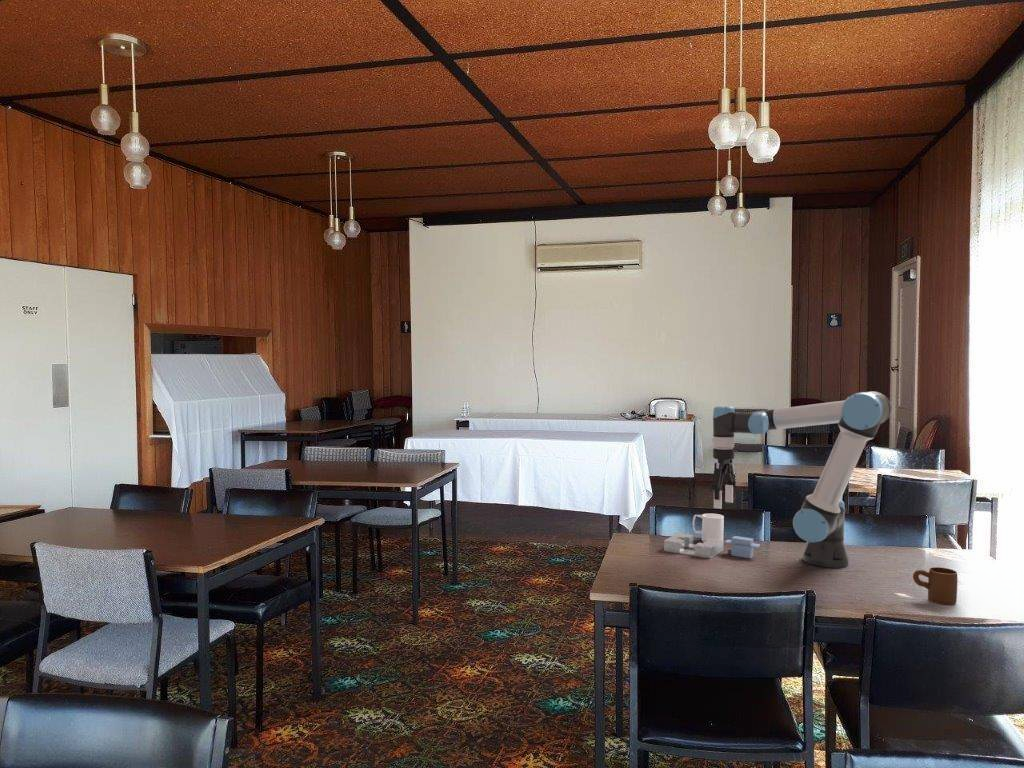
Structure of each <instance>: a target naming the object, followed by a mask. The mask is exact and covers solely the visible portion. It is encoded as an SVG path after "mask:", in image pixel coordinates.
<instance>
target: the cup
mask: <svg viewBox="0 0 1024 768" xmlns="http://www.w3.org/2000/svg"><path fill="white" fill-rule="evenodd" d="M696 517H697V518H701V519H702V520H701V521H702V522H701V530H696V526H695V525H696V524H695V521H696ZM724 520H725V516H724V515H722V514H718V513H703V514H695V515H693V518H692V531H693V532H694V534H696V535H701V541H702V542H703V541H704V539H706V538H707V537H708V538H715V539H721V540H724V529H725V527H724V524H725V523H724V522H725V521H724Z"/></svg>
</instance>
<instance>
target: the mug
mask: <svg viewBox="0 0 1024 768" xmlns="http://www.w3.org/2000/svg"><path fill="white" fill-rule="evenodd" d="M920 575H921V576H923V577H926V578H928V580H927V581H926V580H922V579H920V577H919V576H920ZM912 578H913V582H914V583H915V584H916V585H918V586H920V587H923V588H926V590H927V599H928V600H929V601H931V602H932V603H934V604H939V605H943V606H944V605H945V606H947V605H948V606H949V605H950V606H952V605H953V606H954V605H955V604H956V603H957V599H958V581H959V580H958V579H959V577H958V572H957V571H956V570H954V569H951V568H946V567H940V566H939V567H938V566H937V567H935V566H934V567H930V568H929V569H928V571H926V570H924V569H916V570H915V571H914V572H913V574H912Z"/></svg>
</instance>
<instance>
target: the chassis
mask: <svg viewBox="0 0 1024 768" xmlns="http://www.w3.org/2000/svg"><path fill="white" fill-rule="evenodd" d="M724 544H725V539H723V540H721V539H715V538H708V537H707V538H706V539H704V541H702V542H698V543H696V544H695V543H694V534H687V533H680V532H677V533H675V534H673V535H672V536H670V537H668V538H666V539H664V541H663V552H669V553H675V554H680V555H687V556H693V557H698V558H699V557H700V558H703V559H704V558H705V559H710V560H711V559H713V558H715V556H717V555H718V554H720V553H722V552H723V551H724V546H725V545H724ZM685 548H687V549H685ZM689 549H693V550H689Z"/></svg>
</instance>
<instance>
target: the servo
mask: <svg viewBox="0 0 1024 768" xmlns="http://www.w3.org/2000/svg"><path fill="white" fill-rule="evenodd" d="M754 540H755V539H754V537H753V538H751V537H745V536H739V535H734V536H732V537H731V539H726V540H724V544H728V545H731V546H730V547H731V548H728V549H727V553H728V554H731V556H734V557H739V558H744V559H751V558H753V557H754V549H759V548H760V547H761V544H760V543H755V542H754Z"/></svg>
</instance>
